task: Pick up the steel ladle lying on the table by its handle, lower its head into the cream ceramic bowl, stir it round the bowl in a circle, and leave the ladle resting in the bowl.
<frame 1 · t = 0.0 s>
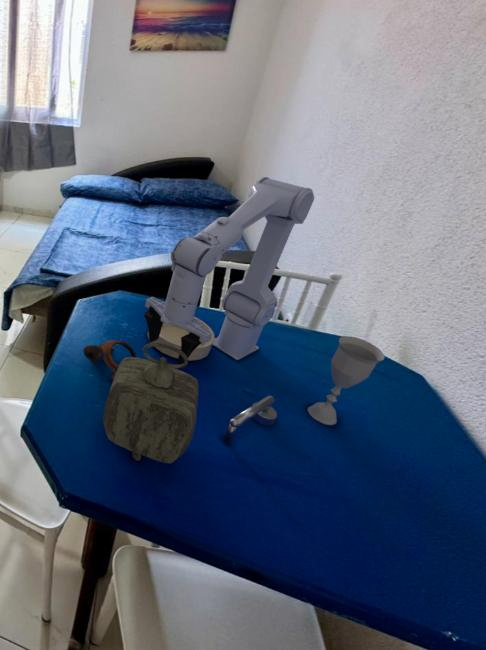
hand: (167, 350, 87), 10 cm above the table, tool pointing down, fingers open, 7 cm apart
bowl: (177, 342, 105), on the table
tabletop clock: (137, 451, 77), on the table
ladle: (241, 430, 81), on the table
chalice: (321, 415, 85), on the table
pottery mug: (106, 367, 97), on the table
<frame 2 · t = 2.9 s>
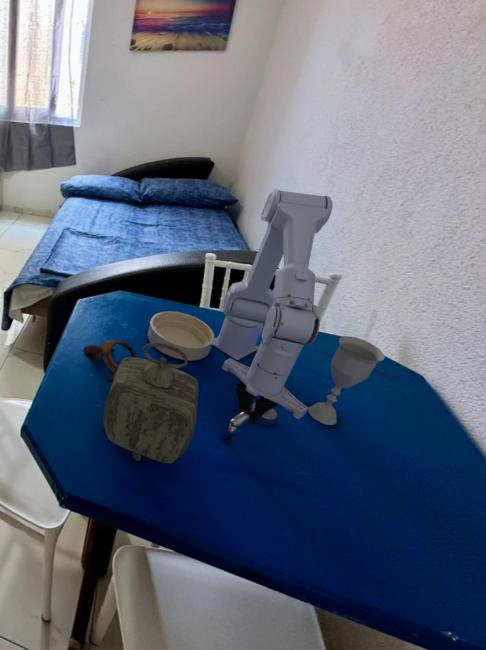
hand: (247, 417, 79), 4 cm above the table, tool pointing down, fingers closed on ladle
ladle: (241, 430, 81), on the table, touching gripper
everything else where it was.
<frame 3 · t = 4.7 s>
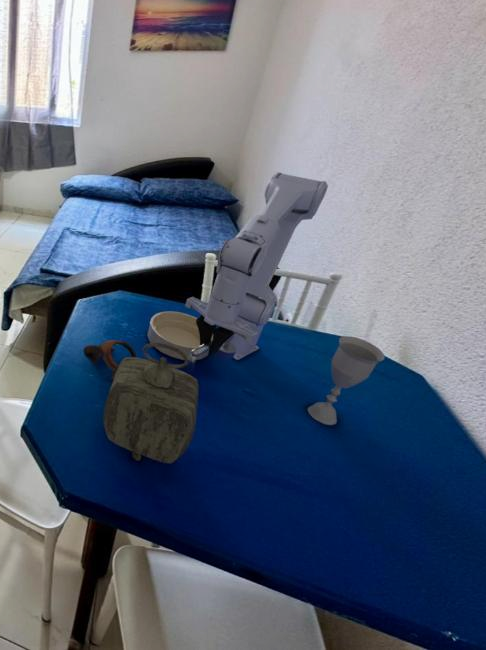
hand: (208, 350, 87), 10 cm above the table, tool pointing down, fingers closed on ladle
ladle: (203, 363, 89), point 7 cm above the table, touching gripper
everything else where it was.
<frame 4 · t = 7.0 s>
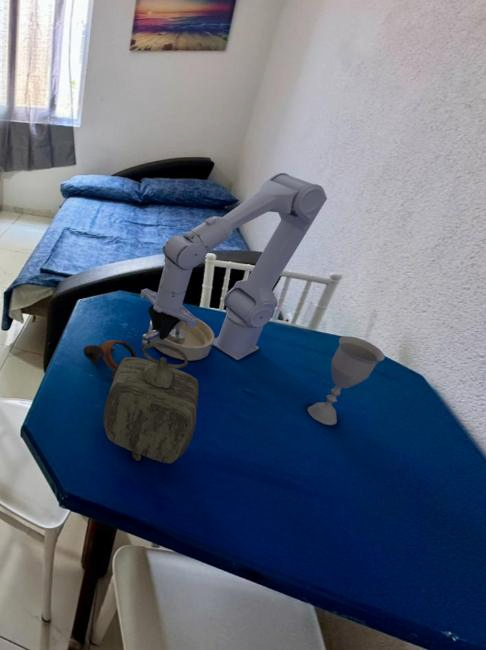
hand: (159, 335, 98), 6 cm above the table, tool pointing down, fingers closed on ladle
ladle: (156, 347, 100), point 2 cm above the table, touching gripper
everything else where it was.
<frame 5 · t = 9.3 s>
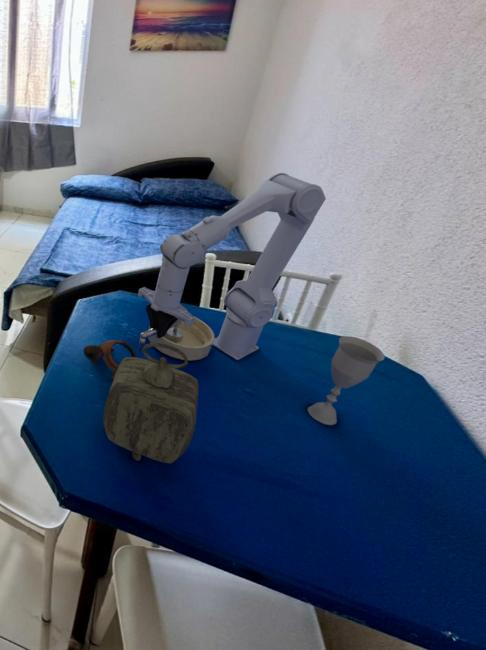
hand: (157, 334, 99), 6 cm above the table, tool pointing down, fingers closed on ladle
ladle: (153, 345, 100), point 2 cm above the table, touching gripper
everything else where it was.
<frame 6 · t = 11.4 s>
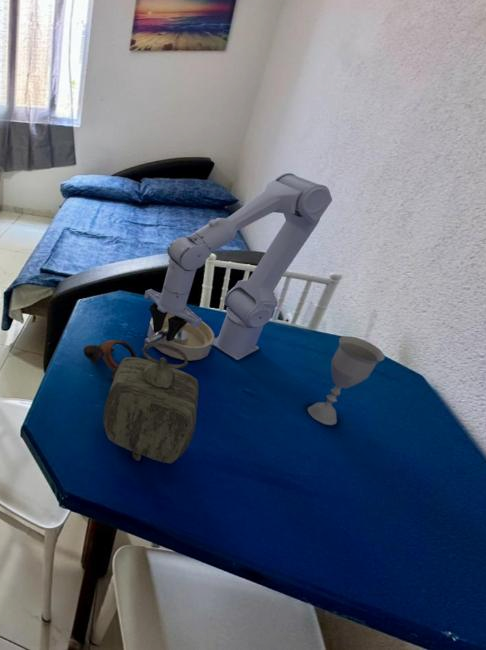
hand: (163, 335, 100), 5 cm above the table, tool pointing down, fingers open, 3 cm apart
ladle: (158, 349, 102), resting in bowl
everything else where it was.
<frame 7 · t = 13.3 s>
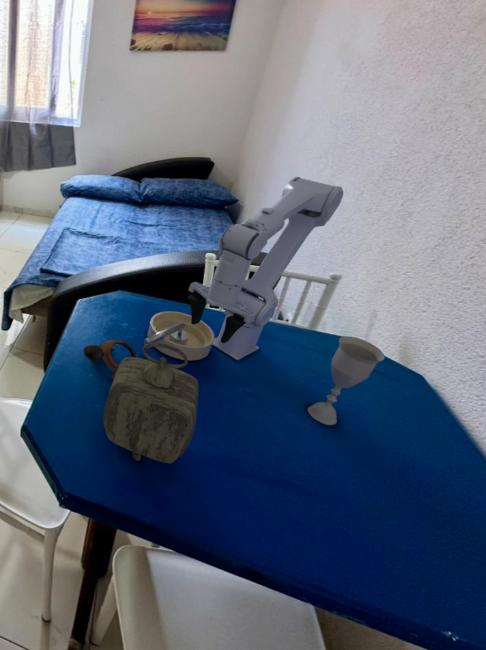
hand: (209, 331, 93), 10 cm above the table, tool pointing down, fingers open, 7 cm apart
nothing on the table moved.
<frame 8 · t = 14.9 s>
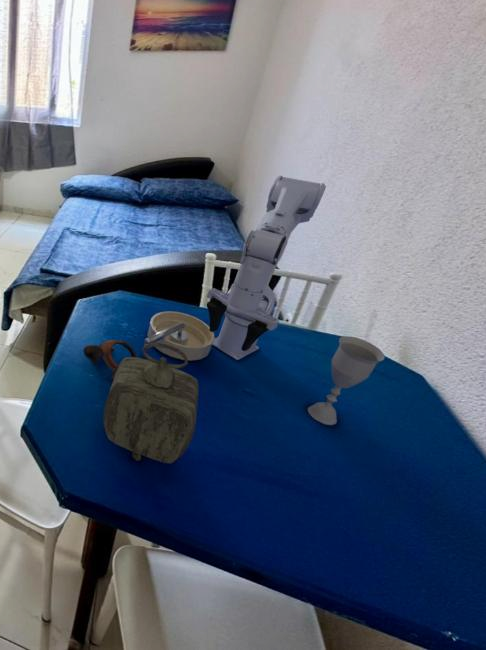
hand: (228, 339, 90), 10 cm above the table, tool pointing down, fingers open, 7 cm apart
nothing on the table moved.
at the end: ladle inside the target area in the bowl (0.6 cm from its centre), point 0.3 cm above the bowl's base; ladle touching bowl; the gripper is holding nothing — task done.
